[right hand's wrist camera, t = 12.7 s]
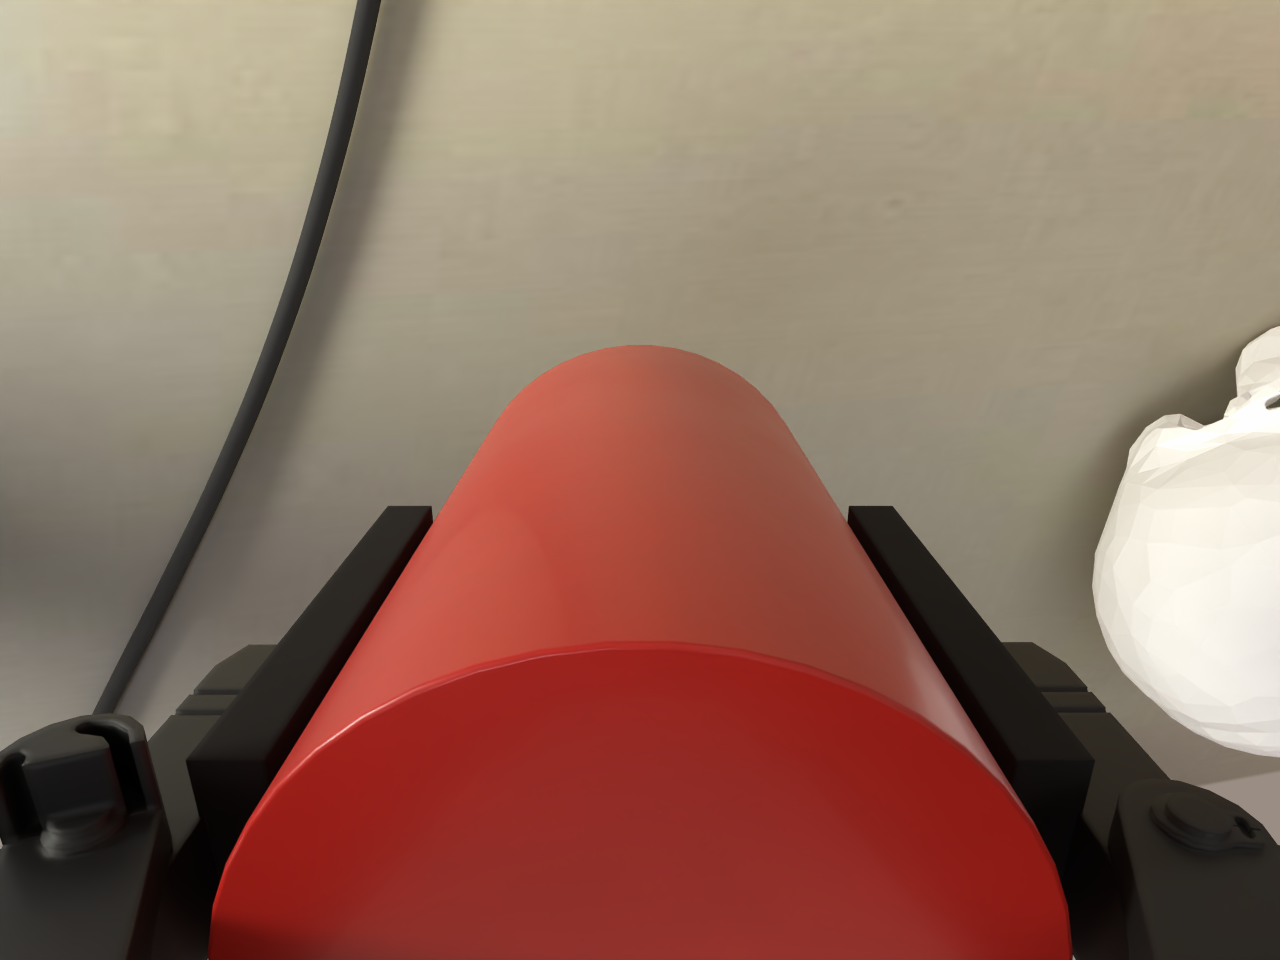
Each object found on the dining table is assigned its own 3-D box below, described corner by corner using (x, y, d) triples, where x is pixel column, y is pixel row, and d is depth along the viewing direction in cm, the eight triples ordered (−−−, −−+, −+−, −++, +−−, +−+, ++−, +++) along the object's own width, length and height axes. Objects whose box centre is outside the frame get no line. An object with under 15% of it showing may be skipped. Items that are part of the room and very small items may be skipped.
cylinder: (847, 381, 16) (1231, 737, 6) (760, 676, 19) (915, 1306, 8) (497, 312, 16) (210, 560, 5) (455, 624, 18) (201, 1221, 8)
